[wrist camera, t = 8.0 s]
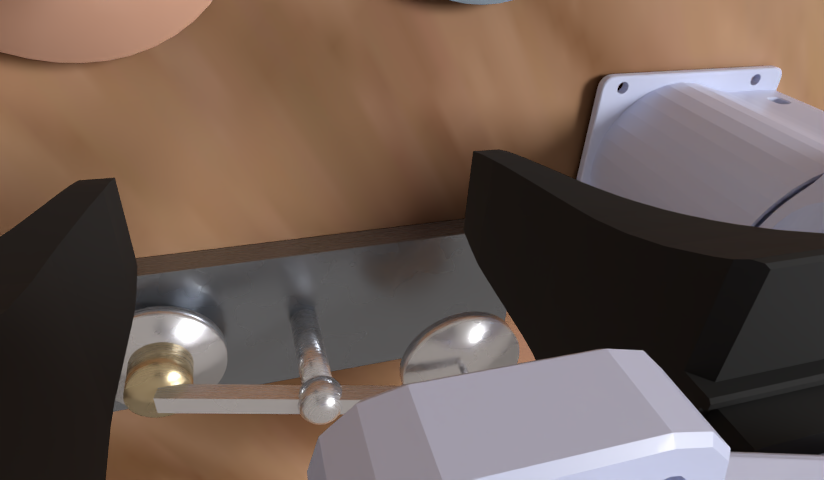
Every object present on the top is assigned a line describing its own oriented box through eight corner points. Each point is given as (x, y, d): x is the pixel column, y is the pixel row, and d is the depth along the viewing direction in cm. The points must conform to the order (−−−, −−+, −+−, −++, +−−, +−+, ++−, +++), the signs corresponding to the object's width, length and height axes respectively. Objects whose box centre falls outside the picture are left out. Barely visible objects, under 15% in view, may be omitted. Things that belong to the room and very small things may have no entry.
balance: (510, 213, 27) (599, 320, 21) (492, 324, 31) (562, 442, 25) (27, 271, 22) (-41, 438, 16) (78, 397, 26) (40, 569, 19)
